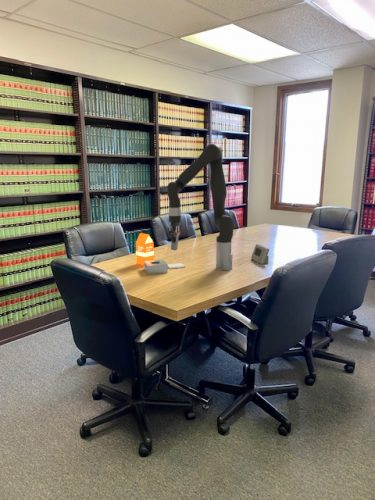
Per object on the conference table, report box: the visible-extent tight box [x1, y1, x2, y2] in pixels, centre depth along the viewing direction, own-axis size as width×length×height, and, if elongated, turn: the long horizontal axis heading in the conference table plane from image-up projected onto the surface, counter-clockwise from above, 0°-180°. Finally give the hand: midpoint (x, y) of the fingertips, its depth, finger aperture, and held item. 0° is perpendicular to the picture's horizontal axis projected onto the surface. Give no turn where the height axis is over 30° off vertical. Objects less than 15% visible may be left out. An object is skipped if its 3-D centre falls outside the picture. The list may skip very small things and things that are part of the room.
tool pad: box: [167, 262, 186, 270], centre depth 234 cm, size 10×8×1 cm
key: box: [170, 231, 181, 251], centre depth 230 cm, size 4×4×11 cm
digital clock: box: [250, 243, 270, 265], centre depth 243 cm, size 16×9×11 cm, turn 4°
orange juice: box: [135, 232, 155, 266], centre depth 239 cm, size 8×9×20 cm
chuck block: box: [143, 259, 169, 275], centre depth 225 cm, size 12×12×5 cm
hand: (175, 241), depth 230 cm, fingers closed on key, 3 cm apart
